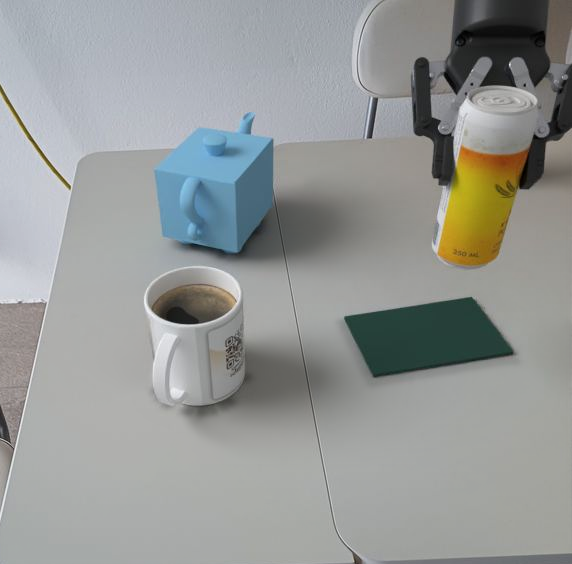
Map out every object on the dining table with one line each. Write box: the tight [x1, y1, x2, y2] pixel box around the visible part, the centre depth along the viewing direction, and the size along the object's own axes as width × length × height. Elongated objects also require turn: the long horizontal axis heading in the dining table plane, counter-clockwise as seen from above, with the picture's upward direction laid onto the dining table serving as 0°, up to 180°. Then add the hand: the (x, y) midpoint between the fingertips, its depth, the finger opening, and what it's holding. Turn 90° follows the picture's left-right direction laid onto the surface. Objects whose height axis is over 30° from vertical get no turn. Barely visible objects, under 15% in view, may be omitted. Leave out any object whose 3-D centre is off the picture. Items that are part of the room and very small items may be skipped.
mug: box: [143, 265, 246, 407], centre depth 67 cm, size 10×12×11 cm
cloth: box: [343, 296, 514, 378], centre depth 74 cm, size 16×10×1 cm, turn 100°
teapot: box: [153, 111, 275, 254], centre depth 88 cm, size 22×11×14 cm, turn 156°
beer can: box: [431, 86, 539, 271], centre depth 57 cm, size 6×6×15 cm
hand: (485, 184), depth 55 cm, fingers closed on beer can, 6 cm apart
